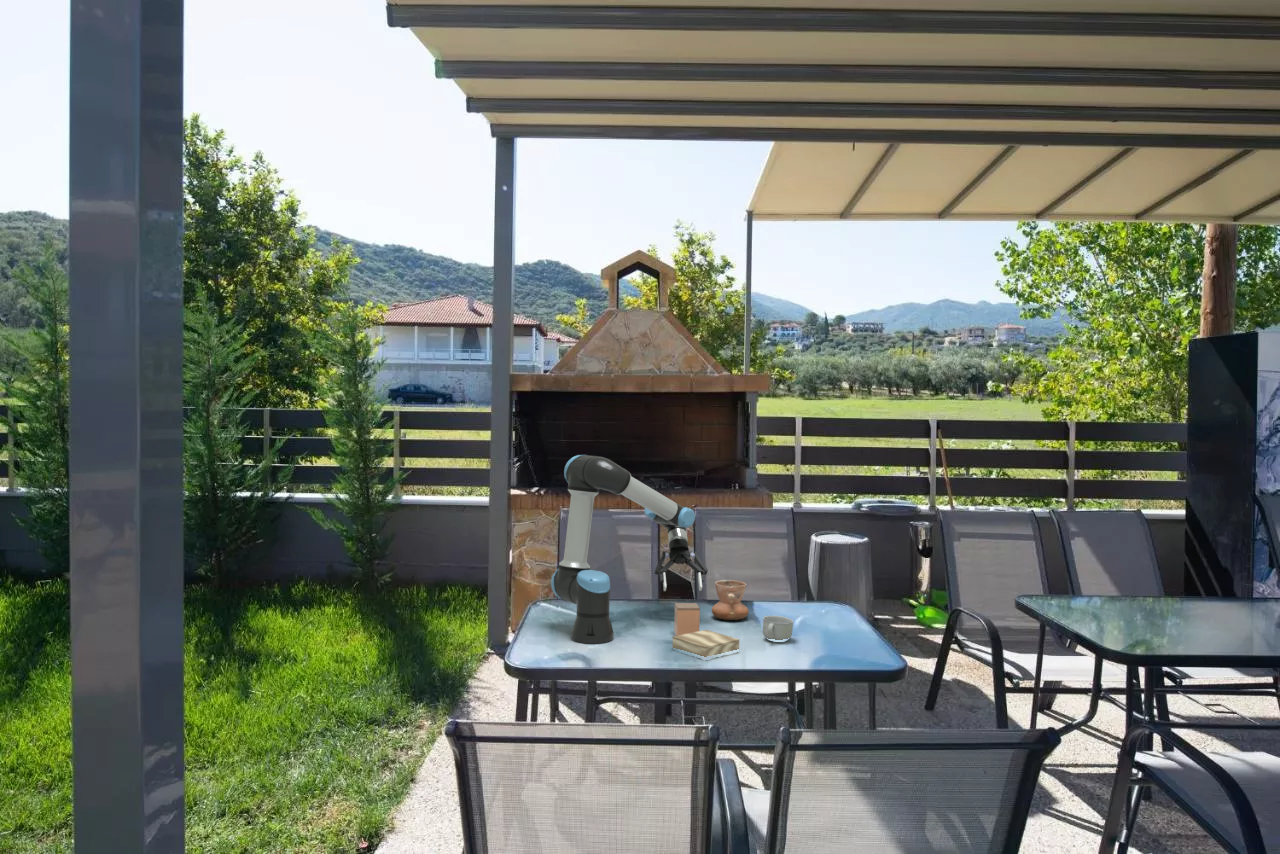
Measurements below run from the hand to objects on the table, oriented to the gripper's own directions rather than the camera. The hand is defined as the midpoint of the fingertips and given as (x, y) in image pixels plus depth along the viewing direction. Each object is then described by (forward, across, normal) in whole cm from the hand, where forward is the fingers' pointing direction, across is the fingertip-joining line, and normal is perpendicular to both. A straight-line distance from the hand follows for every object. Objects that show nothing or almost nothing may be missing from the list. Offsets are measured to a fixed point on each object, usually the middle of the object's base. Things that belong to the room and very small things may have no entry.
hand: (683, 589), depth 330 cm
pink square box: (+19, 0, -2) cm, 19 cm away
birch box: (+34, -3, +13) cm, 36 cm away
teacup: (+25, -30, +5) cm, 40 cm away
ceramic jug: (+1, -21, -20) cm, 29 cm away
